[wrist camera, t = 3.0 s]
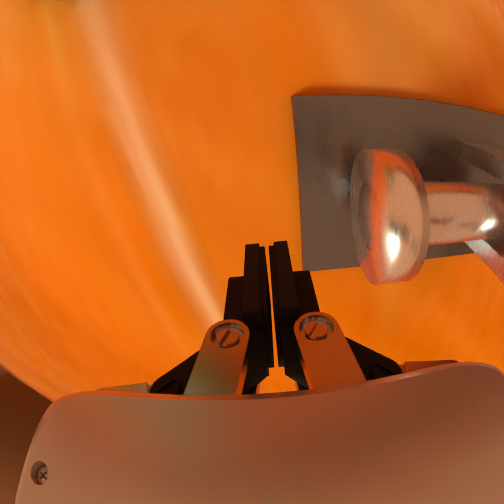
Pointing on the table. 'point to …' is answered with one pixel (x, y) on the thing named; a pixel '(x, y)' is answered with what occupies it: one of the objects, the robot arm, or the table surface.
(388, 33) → the table surface
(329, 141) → the bearing housing
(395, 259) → the door knob
